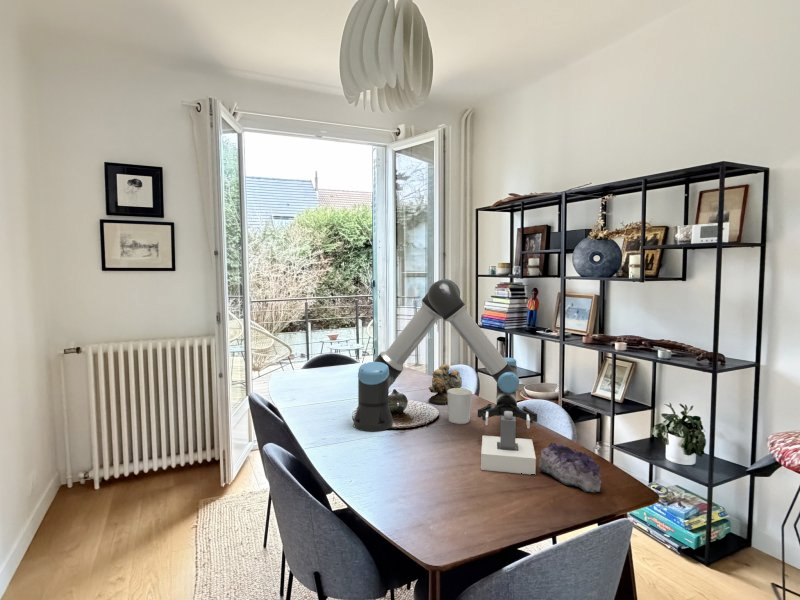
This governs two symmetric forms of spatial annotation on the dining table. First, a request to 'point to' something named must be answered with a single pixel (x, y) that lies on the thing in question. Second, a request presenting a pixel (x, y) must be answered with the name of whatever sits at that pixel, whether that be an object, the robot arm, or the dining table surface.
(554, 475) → the geode
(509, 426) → the plug
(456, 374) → the olive rock sculpture
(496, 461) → the socket block
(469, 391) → the candle holder
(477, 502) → the dining table surface
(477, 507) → the dining table surface
